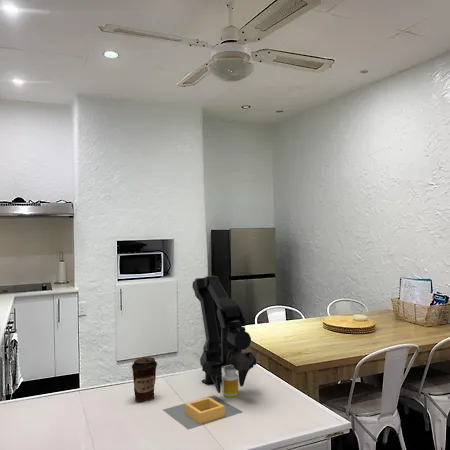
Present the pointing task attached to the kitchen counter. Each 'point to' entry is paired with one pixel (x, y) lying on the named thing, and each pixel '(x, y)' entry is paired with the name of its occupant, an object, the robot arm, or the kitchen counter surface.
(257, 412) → the kitchen counter surface
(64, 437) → the kitchen counter surface
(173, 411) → the slate board
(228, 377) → the supplement bottle
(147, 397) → the coffee cup
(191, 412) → the orange collar
